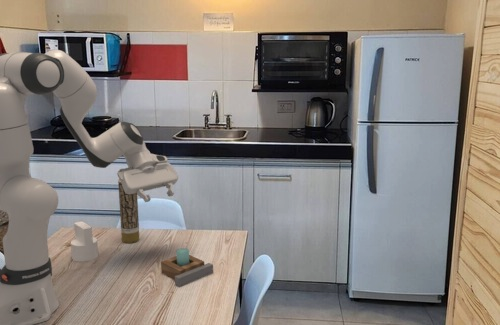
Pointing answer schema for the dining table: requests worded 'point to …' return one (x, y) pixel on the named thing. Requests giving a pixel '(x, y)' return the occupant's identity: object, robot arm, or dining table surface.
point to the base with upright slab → (84, 243)
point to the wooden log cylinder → (128, 215)
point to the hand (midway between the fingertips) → (160, 198)
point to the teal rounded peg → (182, 257)
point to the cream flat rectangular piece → (193, 274)
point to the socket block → (172, 269)
